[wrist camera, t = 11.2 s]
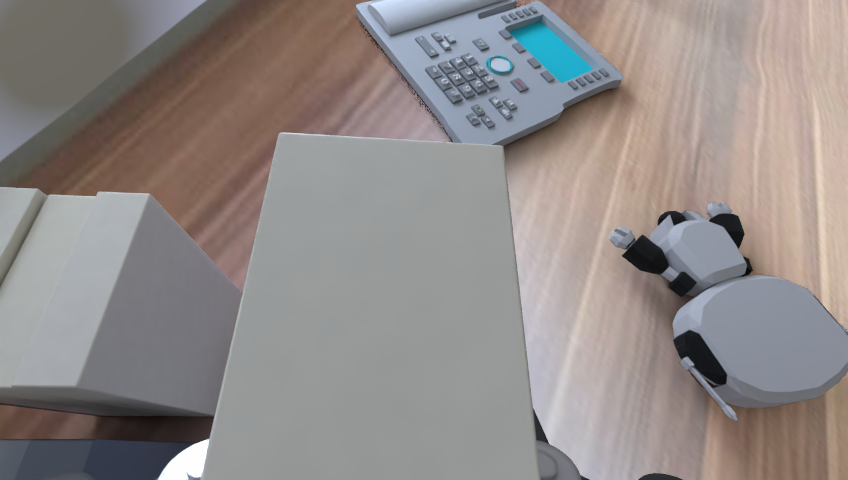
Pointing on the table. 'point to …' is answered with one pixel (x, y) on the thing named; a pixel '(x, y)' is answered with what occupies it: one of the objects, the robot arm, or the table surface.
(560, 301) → the table surface
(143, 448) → the grey books
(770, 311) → the robot toy
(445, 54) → the office telephone
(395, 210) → the cream book
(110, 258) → the white books
